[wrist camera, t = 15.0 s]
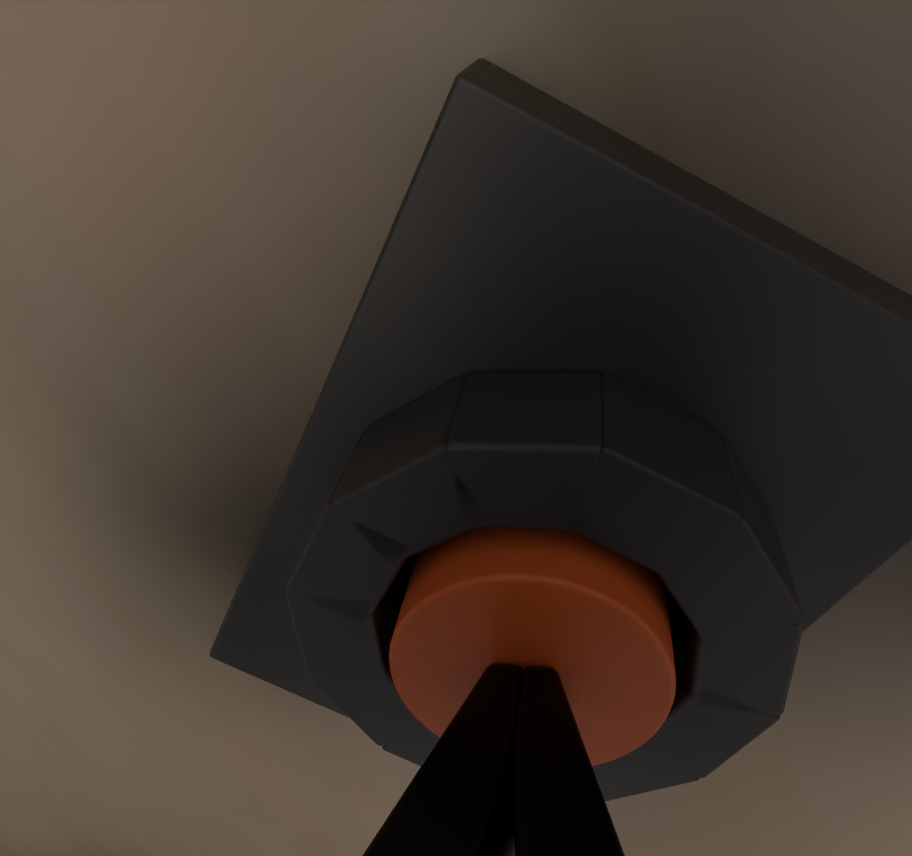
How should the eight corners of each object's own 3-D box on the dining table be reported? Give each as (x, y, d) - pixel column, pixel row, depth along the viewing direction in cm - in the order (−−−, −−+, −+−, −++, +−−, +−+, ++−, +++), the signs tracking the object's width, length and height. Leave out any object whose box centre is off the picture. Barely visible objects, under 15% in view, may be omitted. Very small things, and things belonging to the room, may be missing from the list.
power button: (581, 686, 12) (579, 805, 10) (384, 595, 12) (347, 703, 10) (716, 545, 10) (740, 663, 8) (484, 431, 10) (460, 529, 8)
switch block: (584, 745, 16) (581, 921, 13) (243, 592, 15) (158, 743, 12) (1001, 344, 10) (1169, 501, 7) (478, 54, 9) (424, 95, 6)
